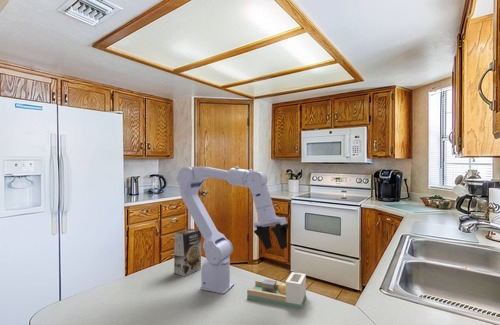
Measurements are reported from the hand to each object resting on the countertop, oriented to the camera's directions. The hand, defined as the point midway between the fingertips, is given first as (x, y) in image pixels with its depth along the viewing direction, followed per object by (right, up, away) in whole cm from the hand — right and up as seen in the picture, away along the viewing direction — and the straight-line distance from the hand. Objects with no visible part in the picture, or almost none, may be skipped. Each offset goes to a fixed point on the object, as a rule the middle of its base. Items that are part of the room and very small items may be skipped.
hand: (276, 248), depth 84 cm
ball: (+2, -13, -1) cm, 13 cm away
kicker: (-2, -14, +1) cm, 14 cm away
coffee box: (-33, -17, +22) cm, 43 cm away
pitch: (0, -15, 0) cm, 16 cm away
